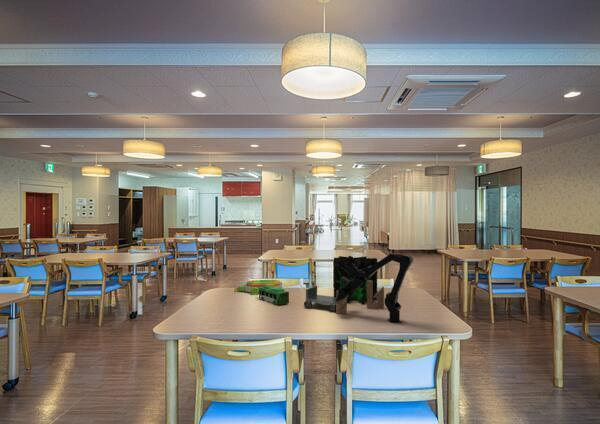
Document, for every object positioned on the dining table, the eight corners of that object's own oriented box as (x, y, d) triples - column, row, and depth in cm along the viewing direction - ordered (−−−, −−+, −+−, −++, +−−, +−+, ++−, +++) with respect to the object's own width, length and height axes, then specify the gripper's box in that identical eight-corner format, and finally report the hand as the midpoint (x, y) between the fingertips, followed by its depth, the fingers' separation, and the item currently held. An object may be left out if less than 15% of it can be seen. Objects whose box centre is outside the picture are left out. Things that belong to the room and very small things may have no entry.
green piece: (235, 288, 300) (235, 279, 300) (281, 287, 303) (281, 278, 303) (232, 296, 271) (232, 286, 271) (282, 295, 274) (282, 285, 274)
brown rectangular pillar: (346, 313, 223) (346, 290, 223) (343, 314, 219) (343, 291, 219) (339, 311, 226) (339, 289, 226) (336, 313, 221) (336, 291, 221)
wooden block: (383, 309, 232) (384, 281, 232) (367, 308, 233) (367, 281, 233) (383, 307, 236) (383, 280, 236) (366, 307, 237) (366, 280, 237)
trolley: (346, 306, 238) (346, 288, 238) (336, 312, 223) (336, 293, 223) (315, 302, 249) (315, 285, 249) (303, 308, 234) (303, 289, 235)
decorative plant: (352, 306, 239) (352, 261, 239) (326, 297, 265) (326, 256, 265) (384, 301, 254) (384, 258, 254) (357, 293, 279) (357, 254, 280)
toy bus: (271, 297, 267) (271, 283, 267) (289, 305, 243) (289, 290, 244) (258, 298, 261) (258, 285, 261) (275, 307, 238) (275, 292, 238)
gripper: (352, 270, 229) (337, 286, 234) (341, 275, 212) (324, 291, 218) (364, 284, 225) (348, 300, 230) (353, 289, 208) (336, 306, 214)
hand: (339, 299), depth 223 cm, fingers open, 9 cm apart
